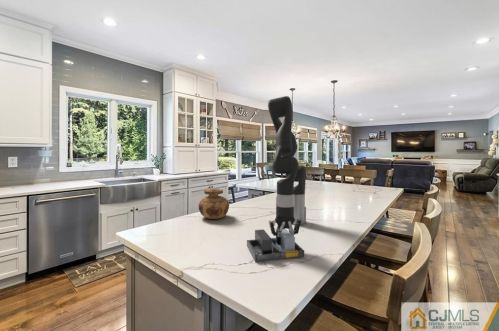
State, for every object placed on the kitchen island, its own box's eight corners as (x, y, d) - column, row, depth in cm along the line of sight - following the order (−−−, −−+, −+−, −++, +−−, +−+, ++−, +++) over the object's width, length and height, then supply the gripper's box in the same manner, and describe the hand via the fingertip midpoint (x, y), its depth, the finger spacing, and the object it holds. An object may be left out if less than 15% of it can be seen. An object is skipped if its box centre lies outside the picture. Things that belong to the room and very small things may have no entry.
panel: (284, 243, 110) (284, 227, 110) (294, 254, 99) (294, 237, 98) (275, 243, 109) (275, 228, 109) (285, 255, 98) (285, 238, 97)
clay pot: (236, 215, 148) (223, 185, 145) (207, 229, 144) (193, 199, 140) (229, 207, 167) (217, 181, 163) (203, 219, 162) (191, 193, 158)
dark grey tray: (289, 242, 113) (289, 226, 112) (304, 257, 97) (304, 238, 96) (246, 245, 109) (246, 229, 108) (255, 262, 93) (255, 243, 92)
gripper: (297, 201, 108) (297, 239, 109) (266, 203, 105) (266, 242, 106) (304, 205, 100) (304, 246, 102) (271, 207, 97) (271, 249, 99)
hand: (284, 243), depth 104 cm, fingers open, 4 cm apart
